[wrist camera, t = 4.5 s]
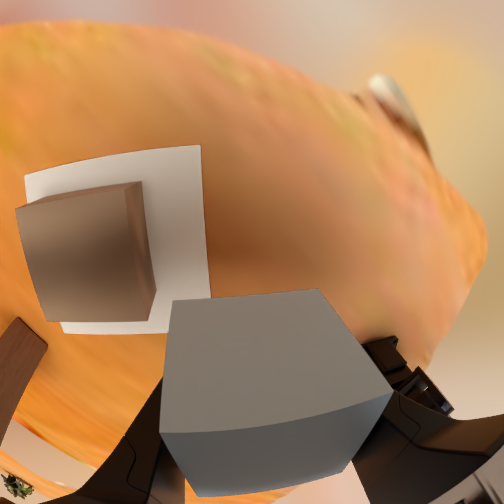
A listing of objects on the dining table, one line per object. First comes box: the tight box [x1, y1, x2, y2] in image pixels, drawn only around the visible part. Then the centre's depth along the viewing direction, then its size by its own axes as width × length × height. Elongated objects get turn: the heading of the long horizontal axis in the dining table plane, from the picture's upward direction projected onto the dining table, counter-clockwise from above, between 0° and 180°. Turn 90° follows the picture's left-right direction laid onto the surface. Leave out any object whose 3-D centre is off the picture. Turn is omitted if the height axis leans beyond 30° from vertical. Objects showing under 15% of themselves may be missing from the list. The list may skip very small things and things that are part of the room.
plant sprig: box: [1, 474, 34, 500], centre depth 33 cm, size 11×11×12 cm
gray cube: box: [159, 288, 394, 497], centre depth 8 cm, size 5×5×5 cm
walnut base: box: [15, 181, 157, 322], centre depth 15 cm, size 8×8×4 cm
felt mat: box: [24, 145, 211, 334], centre depth 18 cm, size 14×14×1 cm
